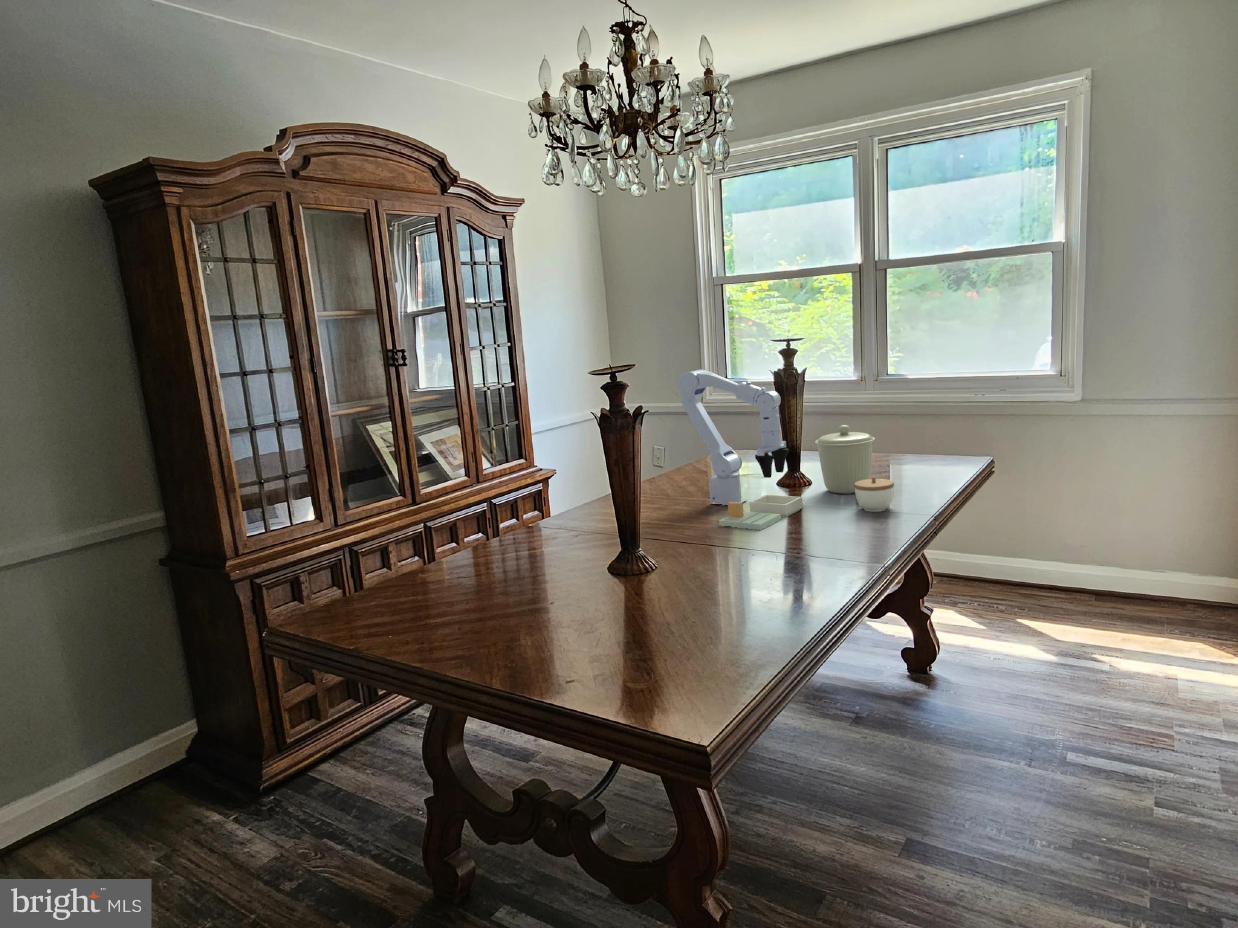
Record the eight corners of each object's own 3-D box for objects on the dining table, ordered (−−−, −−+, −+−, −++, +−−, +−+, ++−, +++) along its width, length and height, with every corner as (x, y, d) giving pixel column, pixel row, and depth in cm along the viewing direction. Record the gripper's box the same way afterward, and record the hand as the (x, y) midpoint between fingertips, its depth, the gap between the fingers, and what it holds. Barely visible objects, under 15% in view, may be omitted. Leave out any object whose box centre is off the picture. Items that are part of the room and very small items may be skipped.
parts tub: (750, 513, 227) (749, 502, 226) (766, 505, 234) (766, 494, 234) (786, 516, 219) (785, 504, 219) (802, 508, 227) (801, 496, 226)
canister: (806, 491, 248) (802, 427, 244) (849, 481, 255) (846, 419, 252) (844, 500, 232) (840, 431, 228) (889, 489, 239) (886, 422, 235)
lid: (719, 525, 217) (717, 506, 216) (740, 516, 225) (738, 497, 224) (761, 530, 208) (759, 510, 207) (781, 519, 217) (779, 500, 216)
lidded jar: (900, 511, 212) (899, 478, 210) (861, 515, 212) (860, 482, 211) (888, 503, 223) (886, 471, 221) (851, 506, 223) (849, 475, 221)
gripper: (770, 434, 223) (773, 480, 225) (793, 427, 234) (796, 470, 236) (749, 434, 227) (752, 479, 230) (773, 427, 238) (776, 469, 240)
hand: (773, 474), depth 233 cm, fingers open, 7 cm apart
